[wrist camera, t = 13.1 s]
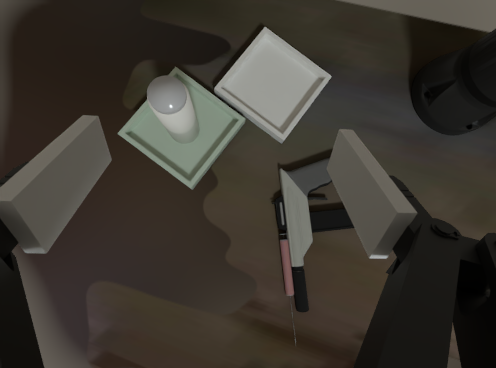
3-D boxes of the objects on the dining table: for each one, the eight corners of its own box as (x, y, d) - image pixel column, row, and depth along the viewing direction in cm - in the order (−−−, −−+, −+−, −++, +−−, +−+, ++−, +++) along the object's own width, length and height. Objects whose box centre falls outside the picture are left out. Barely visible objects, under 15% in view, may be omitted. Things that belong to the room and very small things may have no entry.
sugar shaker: (181, 108, 44) (162, 65, 31) (205, 126, 44) (196, 90, 31) (162, 131, 44) (135, 96, 31) (187, 149, 43) (169, 122, 31)
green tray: (177, 73, 46) (175, 66, 44) (244, 123, 45) (245, 118, 43) (122, 137, 43) (117, 133, 42) (192, 189, 43) (190, 188, 41)
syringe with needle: (379, 337, 42) (290, 351, 40) (371, 330, 44) (286, 343, 42) (352, 150, 45) (268, 157, 43) (346, 153, 47) (266, 160, 46)
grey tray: (263, 34, 48) (265, 26, 46) (327, 82, 48) (331, 76, 46) (214, 93, 46) (214, 88, 44) (281, 143, 46) (283, 140, 44)
